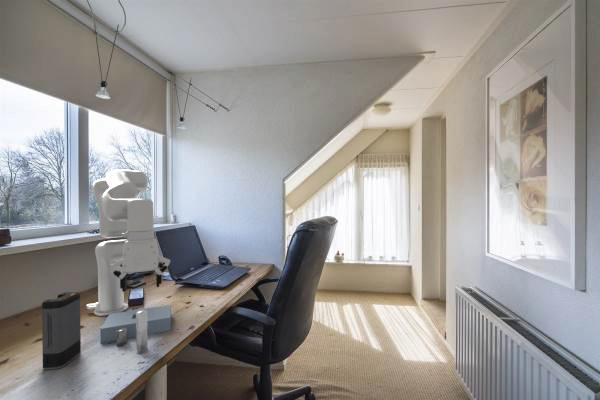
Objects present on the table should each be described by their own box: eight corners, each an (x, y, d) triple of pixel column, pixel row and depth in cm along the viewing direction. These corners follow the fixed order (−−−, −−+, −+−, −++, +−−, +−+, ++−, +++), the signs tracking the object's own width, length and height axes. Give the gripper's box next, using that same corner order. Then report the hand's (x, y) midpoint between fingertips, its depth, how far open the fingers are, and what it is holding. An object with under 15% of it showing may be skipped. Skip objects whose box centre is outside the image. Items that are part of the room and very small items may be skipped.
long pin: (135, 354, 89) (135, 314, 89) (137, 349, 92) (136, 310, 92) (147, 352, 90) (146, 312, 90) (148, 347, 93) (147, 309, 93)
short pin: (115, 347, 93) (115, 332, 93) (117, 343, 96) (117, 328, 96) (126, 345, 94) (126, 330, 94) (127, 341, 97) (127, 326, 97)
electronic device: (63, 353, 90) (63, 292, 90) (83, 352, 91) (82, 291, 91) (39, 370, 81) (38, 302, 81) (61, 369, 81) (60, 301, 81)
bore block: (100, 343, 96) (100, 328, 96) (109, 326, 109) (109, 313, 109) (170, 330, 105) (169, 317, 105) (171, 316, 118) (170, 304, 118)
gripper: (106, 239, 84) (107, 295, 84) (169, 235, 91) (170, 287, 91) (112, 236, 91) (112, 288, 91) (170, 233, 98) (170, 281, 98)
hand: (141, 288), depth 91 cm, fingers open, 9 cm apart
